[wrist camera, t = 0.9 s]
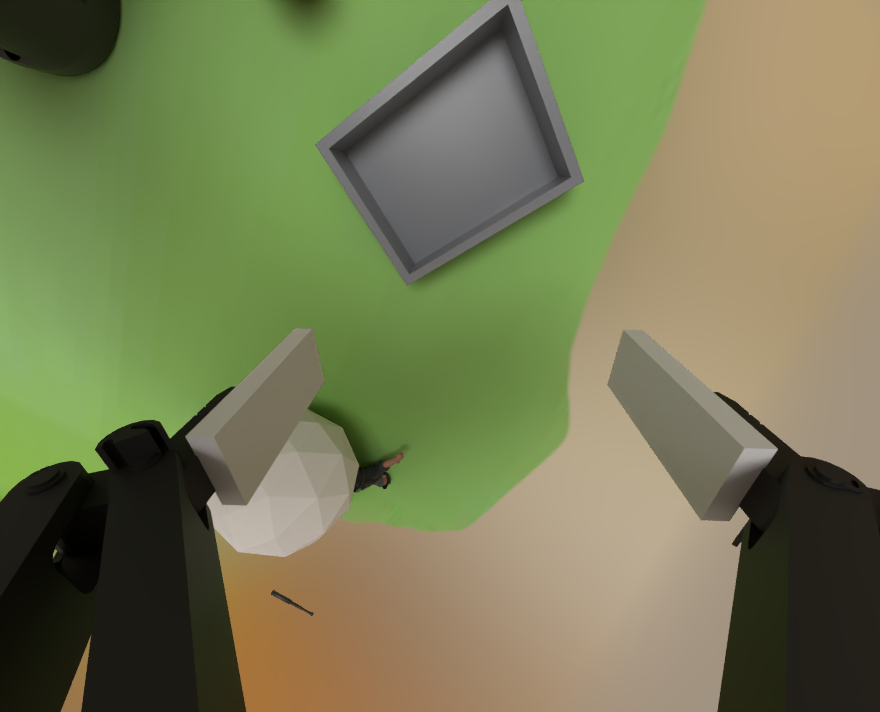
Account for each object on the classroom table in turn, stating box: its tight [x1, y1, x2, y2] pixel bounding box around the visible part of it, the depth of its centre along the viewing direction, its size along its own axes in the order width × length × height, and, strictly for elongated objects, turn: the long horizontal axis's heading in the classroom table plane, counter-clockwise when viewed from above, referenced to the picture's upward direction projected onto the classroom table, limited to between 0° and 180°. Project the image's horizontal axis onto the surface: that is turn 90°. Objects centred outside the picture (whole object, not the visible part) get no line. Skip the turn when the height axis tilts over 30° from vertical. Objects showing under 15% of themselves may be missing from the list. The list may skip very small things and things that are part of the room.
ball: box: [207, 409, 404, 616], centre depth 43 cm, size 17×25×24 cm
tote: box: [315, 0, 584, 285], centre depth 29 cm, size 18×14×5 cm
